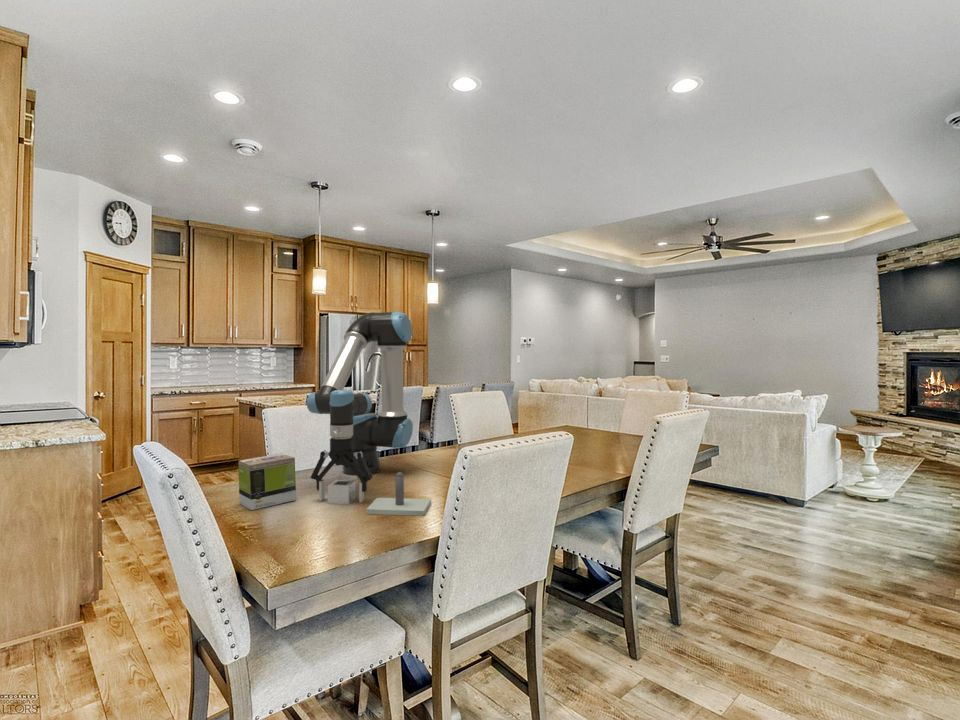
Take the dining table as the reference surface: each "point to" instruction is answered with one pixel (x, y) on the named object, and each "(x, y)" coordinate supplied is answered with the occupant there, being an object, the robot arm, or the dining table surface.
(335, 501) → the collar
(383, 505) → the post block
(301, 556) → the dining table surface
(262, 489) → the tea box
